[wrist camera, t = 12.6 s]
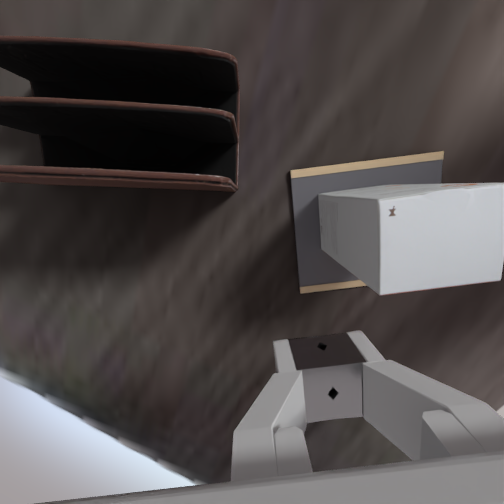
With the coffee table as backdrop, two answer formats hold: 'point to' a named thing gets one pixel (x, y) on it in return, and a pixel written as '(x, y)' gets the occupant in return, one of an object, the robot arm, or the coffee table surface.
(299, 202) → the mat
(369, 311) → the coffee table surface
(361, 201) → the small box
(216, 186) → the letter holder
